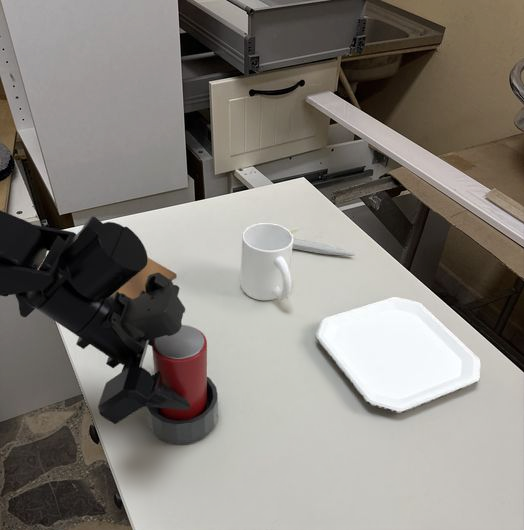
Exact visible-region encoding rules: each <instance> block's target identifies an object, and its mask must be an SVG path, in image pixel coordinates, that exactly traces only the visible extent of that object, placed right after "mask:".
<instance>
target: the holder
mask: <svg viewBox="0 0 524 530" xmlns="http://www.w3.org/2000/svg"><path fill="white" fill-rule="evenodd" d="M218 398H219V397H218V390H217V386H216V385H215V383H214V382H213V381H212V379H211V378H210V377H209V376H207V410H206V411H205V412H204V413H203V414H202V415H200V416H197V417H195V418H193V419H190V420H182V421H175V420H170V419H166V418H164V417H162V416H161V415H159V413H158V407H145V410H146V411H145V413H146V418H147V424H148V425H149V428H150V430H151V432H152V434H154V435H155V437H157V438H158V439H159V440H161V441H162V442H165V443H167V444H171V445H176V446H187V445H192V444H196V443H198V442H200V441H202V440H204V439H205V438H207V436H209V435H210V434H211V432H212V431H213V430H214V429H215V427H216V424H217V421H218V415H219V413H218V412H219V410H218V409H219V405H218V404H219V399H218Z"/></svg>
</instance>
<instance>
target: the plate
mask: <svg viewBox="0 0 524 530" xmlns="http://www.w3.org/2000/svg"><path fill="white" fill-rule="evenodd" d="M315 337H316V340H317V341H318V343H319V344H320V345H321V346H322V348H323V350H325V351H326V353H327V354H328V356H330V358H331V359H332V360H333V362H334V363H335V364H336V365H337V367H338V368H339V369H340V370H341V372H342V373H343V374H344V375H345V376H346V378H347V380H348V381H349V382H350V383H351V384H352V385H353V387H354V388H355V389H356V391H357V392H358V393H359V394H360V395H361V397H362V398H363V399H364V401H365V402H366V403H367V404H368V405H370V406H373V407H376V408H380V409H384V410H387V411H390V412H393V413H397V414H401V413H405V412H408V411H410V410H412V409H415V408H417V407H419V406H422V405H424V404H427V403H430V402H432V401H434V400H437V399H440V398H442V397H444V396H447V395H449V394H452V393H454V392H457V391H460V390H462V389H464V388H467V387H469V386H471V385H474V384H477V383H478V382H479V381H480V379H481V363H482V362H481V360H480V358H479V357H478V356H477V355H476V354H475V353H474V352H473V351H472V350H471V349H470V348H469V347H468V346H466V345H465V343H464V342H462V341H461V340H460V339H459V338H458V337H457V336H456V335H455V334H454V333H453V332H452V331H451V330H450V329H448V327H446V326H445V325H444V323H443V322H441V321H440V320H439V319H438V318H437V317H436V316H435V315H434V314H433V313H432V312H431V311H430V310H428V308H427V307H426V306H424V305H423V303H420V302H419V301H417V300H416V301H415V300H412V299H407V298H404V297H399V296H392V297H389V298H385V299H382V300H378V301H375V302H373V303H369V304H365V305H363V306H359V307H356V308H353V309H349V310H346V311H343V312H339V313H336V314H333V315H329V316H326V317H324V318H322V319H321V321H320V324H319V326H318V329H317V331H316V334H315Z"/></svg>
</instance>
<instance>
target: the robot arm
mask: <svg viewBox="0 0 524 530" xmlns="http://www.w3.org/2000/svg"><path fill="white" fill-rule="evenodd" d="M148 258H149V257H148V251H147V249H146V247H145V245H144V244H143V242H142V240H141V239H140V237H138V235H137V234H136V233H135V232H134V231H133V230H132V229H131V228H129V227H128V226H123V225H122V224H120V223H117V222H113V221H107V222H102V221H101V220H100V219H98V218H97V217H96V216H90V218H89V219H87V220H86V222H84V224H83V226H82V228H81V229H80V230H79V232H77V233H76V232H74V231H70V230H65V229H58V228H54V227H50V226H49V227H48V226H44V225H43V226H42V225H38V224H33V223H32V222H29V221H27V220H26V219H23V218H20V217H18V216H16V215H14V214H10V213H8V212H5V211H3V210H0V297H4V298H5V297H7V298H8V296H14V295H15V298H16V300H17V302H18V310H19V315H20V316H21V317H22V318H27V317H28V316H29V315H30V314H31V313H33V312H34V311H35V310H38V311H39V312H40V313H42V314H44V315H45V316H46V317H48V318H50V319H51V320H53V321H54V322H56V323H57V324H59V325H60V326H62V327H63V328H65V329H66V330H67V331H69V332H71V333H72V334H73V335H75V336H77V337H78V338H77V341H76V344H75V345H76V346H78V347H79V348H81V349H82V350H84V349H86V348H87V347H88V346H89V345H90V346H92V347H93V348H95V349H97V350H98V351H99V352H101V353H102V354H104V355H106V356H107V360H106V363H105V364H106V365H107V366H109V367H110V368H112V369H115V368H116V367H118V366H119V365H121V366H122V369H121V372H120V373H118V374H117V375H115V376H114V377H113V378H111V379H110V380H108V381H107V382H105V385H104V387H103V390H102V393H101V396H100V398H99V402H98V405H97V410H98V413H99V415H100V416H101V417H102V418H104V419H105V420H107V421H109V422H110V423H112V424H113V425H117V424H118V423H120V422H121V421H123V420H125V419H127V418H128V417H130V416H131V415H133V414H135V413H136V412H137V411H139V410H141V409H142V408H146V407H158V408H167V409H176V410H187V409H189V408H190V406H191V404H190V403H189V402H188V401H186V400H185V399H184V398H183V397H182V396H180V395H179V394H178V393H176V392H175V391H174V390H172V389H171V388H169V387H168V386H167V385H165V384H164V383H163V382H162V378H161V372H160V371H158V372H156V373H155V372H154V373H153V374H151V373H150V371H149V370H148V369H146V368H144V367H143V363H144V361H145V357H146V353H147V350H148V347H149V346H150V347H152V341H153V339H155V338H158V337H162V336H166V335H167V336H171V335H174V334H176V333H177V332H178V331H179V330H180V329H181V326H182V325H183V323H182V320H183V318H184V317H183V316H184V314H185V312H186V307H185V305H184V304H183V303H182V301H181V299H180V298H179V293H180V287H179V285H177V284H174V283H173V280H170V279H168V278H166V277H165V276H163V275H162V274H160V273H159V272H157V273H154V274H151V275H149V276H148V278H147V281H146V284H145V289H146V292H144V290H143V291H141V292H140V295H139V296H138V297H136V298H134V299H131V298H129V297H127V296H126V295H125V294H123V293H121V294H120V293H119V292H116V291H117V290H119V289H120V288H121V287H122V286H123V285H125V284H126V283H127V282H128V281H129V280H131V279H132V278H133V277H134V276H135V275H137V274H138V273H139V272H140V271H141V270H143V269H144V268H145V266H146V265H147V261H148ZM115 292H116V293H115ZM114 293H115V294H114ZM113 294H114V295H113ZM111 295H112V296H111Z"/></svg>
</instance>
